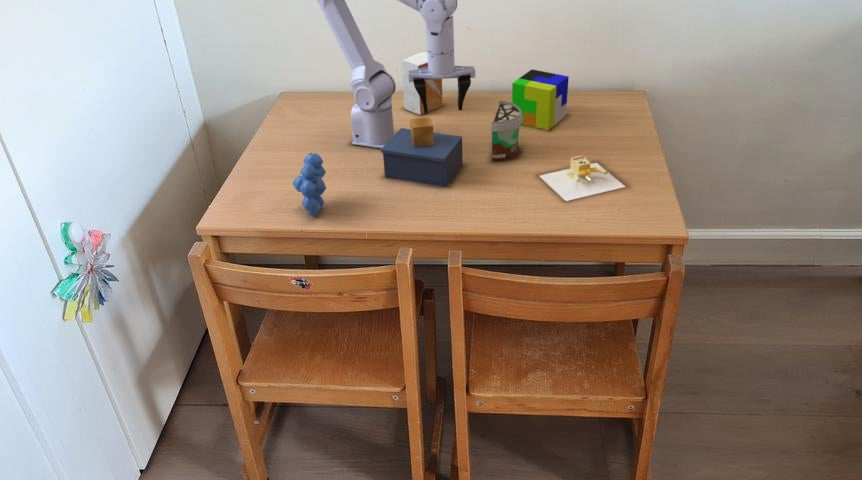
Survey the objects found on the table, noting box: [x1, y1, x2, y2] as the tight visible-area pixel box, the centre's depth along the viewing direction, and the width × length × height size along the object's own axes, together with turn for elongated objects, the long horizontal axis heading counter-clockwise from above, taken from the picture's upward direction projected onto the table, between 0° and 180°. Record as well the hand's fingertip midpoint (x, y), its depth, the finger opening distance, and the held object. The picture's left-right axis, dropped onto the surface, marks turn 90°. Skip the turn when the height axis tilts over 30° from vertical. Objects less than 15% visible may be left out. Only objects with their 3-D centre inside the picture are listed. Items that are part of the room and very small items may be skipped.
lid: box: [380, 127, 463, 162], centre depth 165 cm, size 11×15×1 cm
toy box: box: [382, 140, 464, 188], centre depth 168 cm, size 10×15×6 cm
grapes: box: [291, 152, 327, 217], centre depth 154 cm, size 12×7×12 cm, turn 174°
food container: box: [490, 100, 523, 162], centre depth 172 cm, size 12×6×10 cm, turn 169°
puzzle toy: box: [511, 69, 569, 131], centre depth 187 cm, size 10×10×10 cm
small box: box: [401, 51, 444, 116], centre depth 193 cm, size 8×6×13 cm
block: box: [409, 116, 435, 147], centre depth 164 cm, size 4×4×5 cm
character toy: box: [568, 154, 609, 183], centre depth 163 cm, size 8×3×8 cm
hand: (442, 110), depth 170 cm, fingers open, 7 cm apart
